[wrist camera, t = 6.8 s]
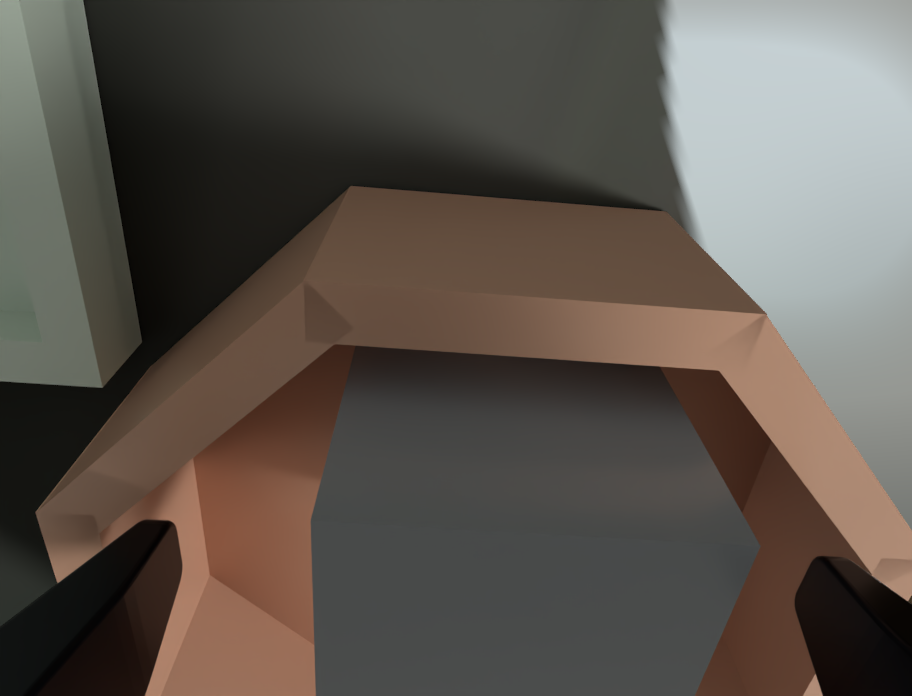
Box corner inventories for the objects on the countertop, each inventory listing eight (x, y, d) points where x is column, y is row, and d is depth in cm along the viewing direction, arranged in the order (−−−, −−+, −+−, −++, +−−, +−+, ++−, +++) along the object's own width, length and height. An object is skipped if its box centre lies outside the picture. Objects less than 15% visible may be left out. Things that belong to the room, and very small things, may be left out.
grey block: (580, 502, 13) (654, 786, 9) (365, 489, 13) (318, 775, 8) (627, 309, 11) (760, 546, 6) (370, 289, 11) (309, 520, 6)
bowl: (686, 686, 18) (745, 859, 14) (201, 665, 17) (137, 842, 13) (878, 229, 11) (1073, 336, 8) (117, 166, 11) (-45, 254, 7)
